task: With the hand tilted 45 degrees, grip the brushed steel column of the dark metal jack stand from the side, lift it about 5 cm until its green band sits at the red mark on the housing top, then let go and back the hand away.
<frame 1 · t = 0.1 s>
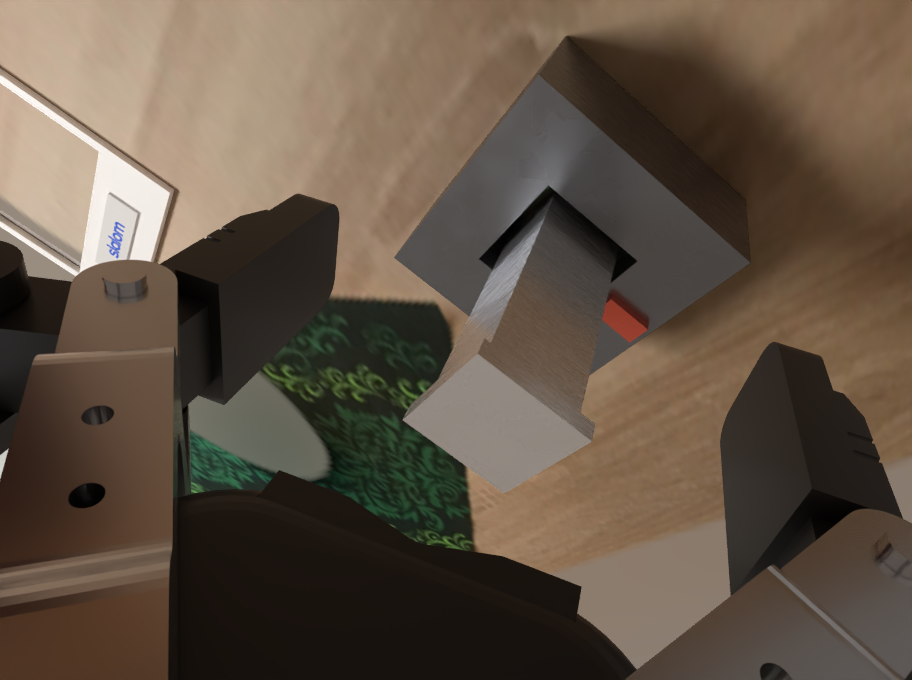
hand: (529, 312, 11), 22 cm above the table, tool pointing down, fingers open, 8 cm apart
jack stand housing: (575, 203, 34), on the table
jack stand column: (542, 292, 28), point 9 cm above the table, slide at 0.0 cm
photo frame: (55, 181, 47), on the table
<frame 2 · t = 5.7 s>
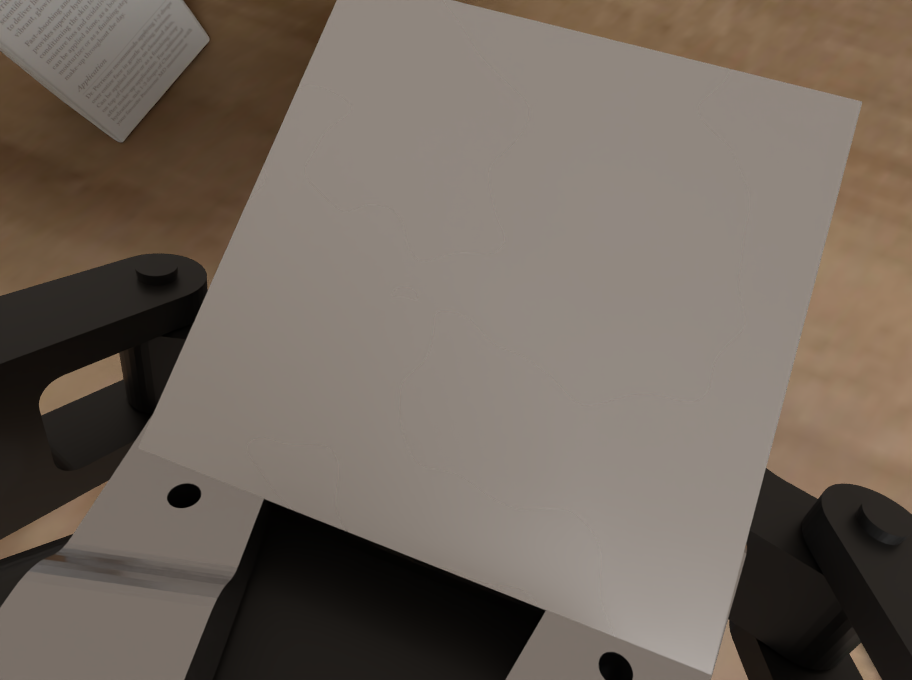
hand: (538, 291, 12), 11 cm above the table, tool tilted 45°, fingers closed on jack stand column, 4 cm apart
skincare box: (135, 73, 27), on the table
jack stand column: (508, 396, 14), point 9 cm above the table, slide at 0.0 cm, touching gripper
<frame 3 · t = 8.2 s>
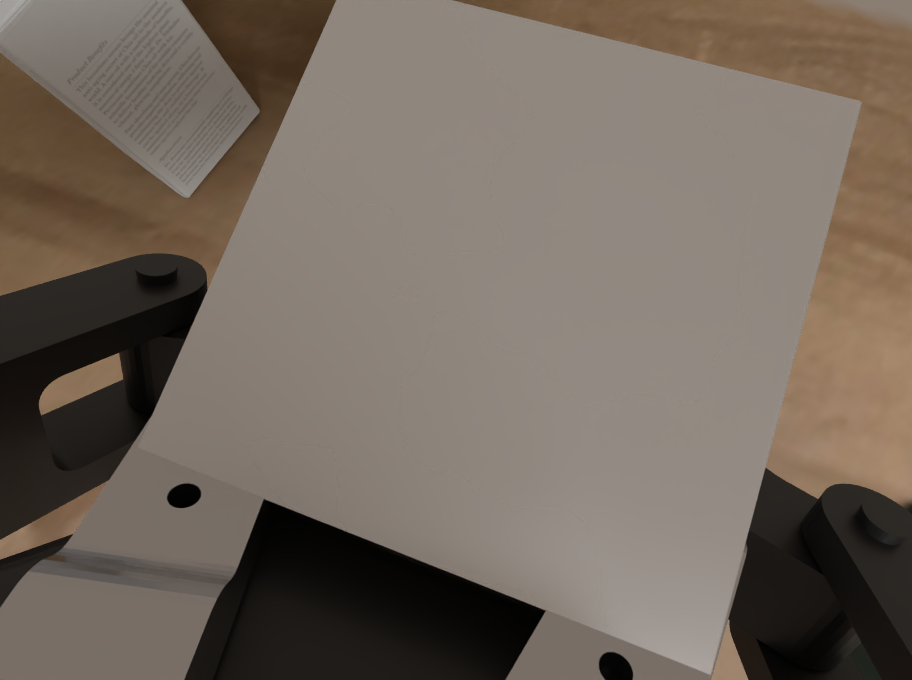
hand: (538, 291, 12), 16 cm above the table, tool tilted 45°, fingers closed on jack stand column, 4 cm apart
skincare box: (197, 138, 32), on the table
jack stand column: (508, 396, 14), point 14 cm above the table, slide at 5.3 cm, touching gripper
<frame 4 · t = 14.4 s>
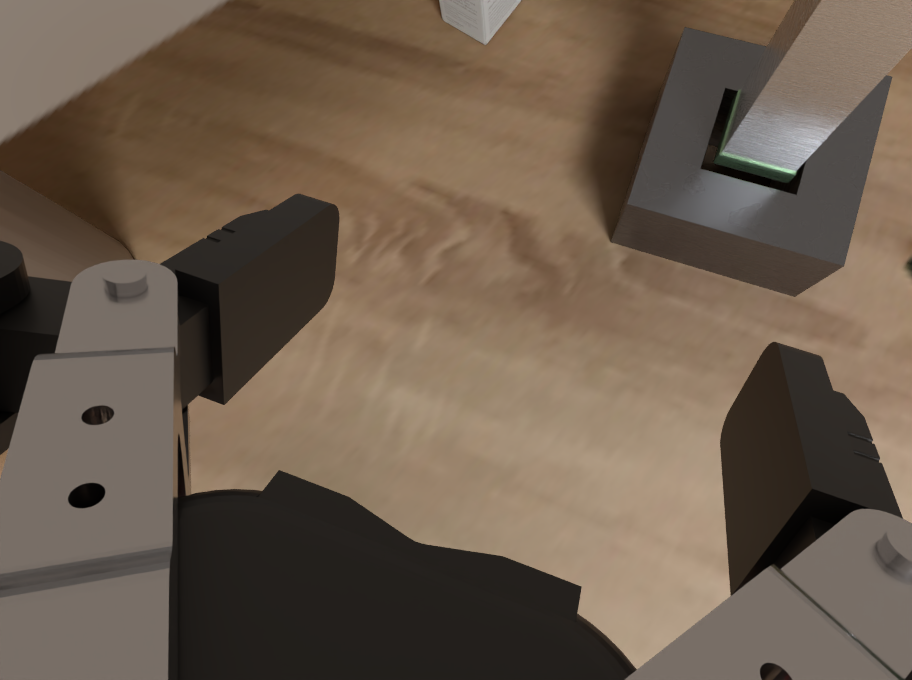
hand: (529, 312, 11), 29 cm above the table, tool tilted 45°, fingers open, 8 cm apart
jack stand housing: (725, 187, 42), on the table
skincare box: (486, 7, 46), on the table
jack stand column: (832, 43, 28), point 14 cm above the table, slide at 5.4 cm
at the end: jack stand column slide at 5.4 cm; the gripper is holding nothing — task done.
